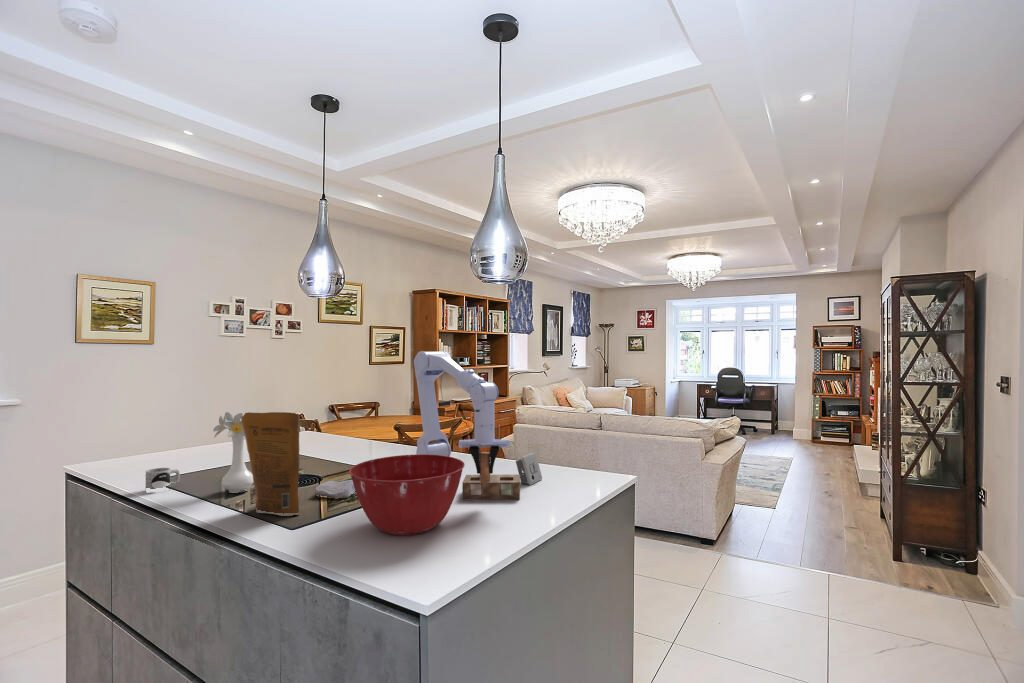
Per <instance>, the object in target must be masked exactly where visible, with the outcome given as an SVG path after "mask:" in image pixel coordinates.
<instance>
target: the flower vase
mask: <svg viewBox="0 0 1024 683" xmlns="http://www.w3.org/2000/svg"><path fill="white" fill-rule="evenodd" d="M241 416H244V414H243V413H242V412H240V413H237V414H235V415H234V416H233V415H232V414H231V413H230V412H229V411H226V412H224V416H222V415H220V416H219V417H218V425H216V426H215V427H214V428H213V430H212V431H213V433H214V432H216V433H215V434H214V436H213V437H214V438H216V437H217V436H218V435H219V434H221V433H222V432H224V430H226V429H228V432H227V437H228V438H231V442H232V457H231V458H232V460H231V465H230V468H229V470H228V472H227V473H226V474H225V475H224V476H223V477H222V479H221V486H222V488H224V489H225V490H226V491H227V490H229V491H240V490H245V489H247V488H249V489H250V487H251V486H252V485H254V481H253V474H252V471H250V470H249V469H248V468H247V465H246V463H245V456H244V441H245V434H244V430H243V427H242V422H241Z"/></svg>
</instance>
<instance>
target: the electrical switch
mask: <svg viewBox="0 0 1024 683" xmlns="http://www.w3.org/2000/svg"><path fill="white" fill-rule="evenodd" d="M515 465H516V468H517V471H518V475H520V485H523V484H527V485H528V486H532V485H533V484H536V483H538V482H539V481H541V480H542V479H543V475H542V471H541V467H540V463H539V460H538V457H537V454H536V452H531V453H529V454H526V455H523V456H521V458H520V459H517V460H515Z"/></svg>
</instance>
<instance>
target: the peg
mask: <svg viewBox="0 0 1024 683" xmlns="http://www.w3.org/2000/svg"><path fill="white" fill-rule="evenodd" d="M479 475H480V482H482V483H488V482H490V475H491V474H490V451H488V452H486V451H482V452H481V451H480V474H479Z"/></svg>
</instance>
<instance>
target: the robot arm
mask: <svg viewBox="0 0 1024 683" xmlns="http://www.w3.org/2000/svg"><path fill="white" fill-rule="evenodd" d="M413 368H414V374H415V375H414V376H415V379H416V383H417V384H416V385H417V393H418V401H419V408H420V416H421V424H422V432H423V433H422V434H421V436H420V437H418V439H417V440H416V445H417V446H416V454H415V455H419V454H426V455H442V456H449V457H451V455H452V448H451V445H450V443H449V440H448V436H447V434H446V433H444V432H443V431H442V430H441V426H440V417H439V410H438V403H437V394H436V388H435V381H436V380H437V378H440V376H441V375H443V373H444V372H445V373H446V374H448V375H450V376H451V377H452V378H454V379H456V384H457V385H458V387H460V388H461V389H463V390H464V391H465V392H466V393H468V394H469V397H470V400H471V403H472V408H473V410H474V412H473V413H474V414H473V415H474V416H473V417H474V438H473V439H471V438H470V439H459V441H458V448H459V449H463V448H469V452H470V454H471V457H472V459H473V461H474V466H475V468H476V475H480V453H481V449H480V448H490V449H489V453H490V475H493V474H494V473H493V472H494V471H493V470H494V466H495V465H494V464H495V461H496V459H497V455H498V453H499V451H500V448H507V449H508V448H511V439H499V438H497V439H496V438H495V437H496V436H495V434H496V433H495V432H496V431H495V429H496V428H495V422H496V421H495V420H496V419H495V401H497V399H498V398H499V394H500V392H499V388H498V386H497V384H495V382H494V381H486V380H485V378H483V377H481V376H480V375H478V374H476V373H475V370H474V369H464V368H462V367H461V366H460V365H459V364H458V363H457V362H456V361H454V360H453V359H452V356H451V354H450V353H448V352H446V351H445V350H439V351H424V350H421V351H418V352H417V354H416V355H415V357H414V359H413Z"/></svg>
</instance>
